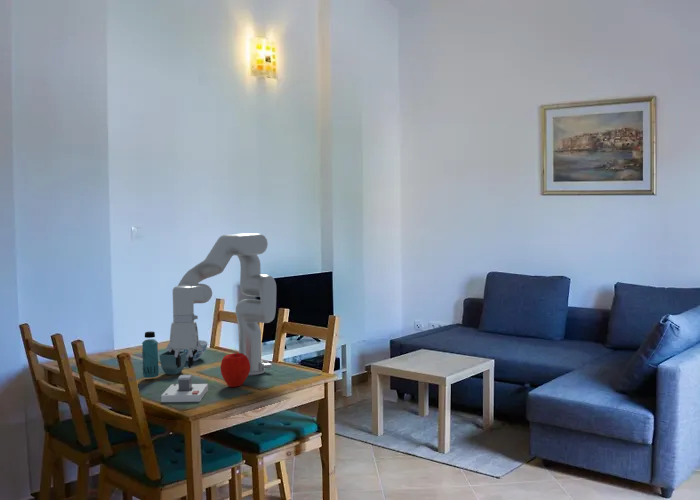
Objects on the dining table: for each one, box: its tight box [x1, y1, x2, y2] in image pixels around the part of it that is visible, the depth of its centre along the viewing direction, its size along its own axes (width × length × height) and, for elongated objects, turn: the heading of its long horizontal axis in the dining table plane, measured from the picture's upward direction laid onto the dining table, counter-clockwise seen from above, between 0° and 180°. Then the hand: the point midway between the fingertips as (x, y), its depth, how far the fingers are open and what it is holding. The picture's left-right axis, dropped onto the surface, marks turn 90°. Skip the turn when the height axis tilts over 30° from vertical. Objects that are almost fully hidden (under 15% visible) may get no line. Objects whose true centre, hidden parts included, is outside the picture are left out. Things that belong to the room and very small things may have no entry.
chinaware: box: [180, 339, 208, 362], centre depth 323 cm, size 15×15×8 cm
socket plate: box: [160, 383, 209, 403], centre depth 261 cm, size 14×16×3 cm
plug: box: [177, 374, 193, 391], centre depth 261 cm, size 4×4×7 cm
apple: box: [220, 352, 250, 388], centre depth 274 cm, size 12×12×13 cm
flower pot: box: [158, 350, 187, 376], centre depth 296 cm, size 9×9×9 cm
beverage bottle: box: [141, 331, 160, 379], centre depth 286 cm, size 6×7×20 cm
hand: (184, 366), depth 260 cm, fingers open, 3 cm apart
